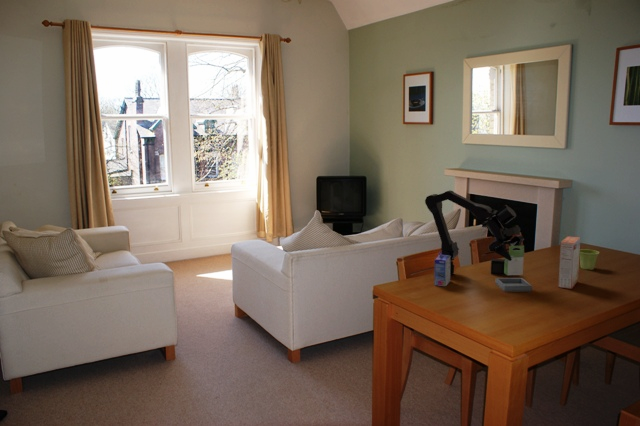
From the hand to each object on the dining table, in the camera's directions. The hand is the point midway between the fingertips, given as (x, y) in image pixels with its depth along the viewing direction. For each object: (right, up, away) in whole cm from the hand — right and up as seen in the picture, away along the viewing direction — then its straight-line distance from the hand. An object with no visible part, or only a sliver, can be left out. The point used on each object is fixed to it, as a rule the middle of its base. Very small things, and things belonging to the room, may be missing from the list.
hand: (516, 259), depth 238 cm
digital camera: (+2, -10, +24) cm, 26 cm away
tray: (0, -13, +3) cm, 13 cm away
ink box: (-1, -7, +2) cm, 8 cm away
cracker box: (+26, -12, +7) cm, 29 cm away
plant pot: (+48, -8, +34) cm, 59 cm away
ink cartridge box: (-30, -12, +10) cm, 34 cm away
